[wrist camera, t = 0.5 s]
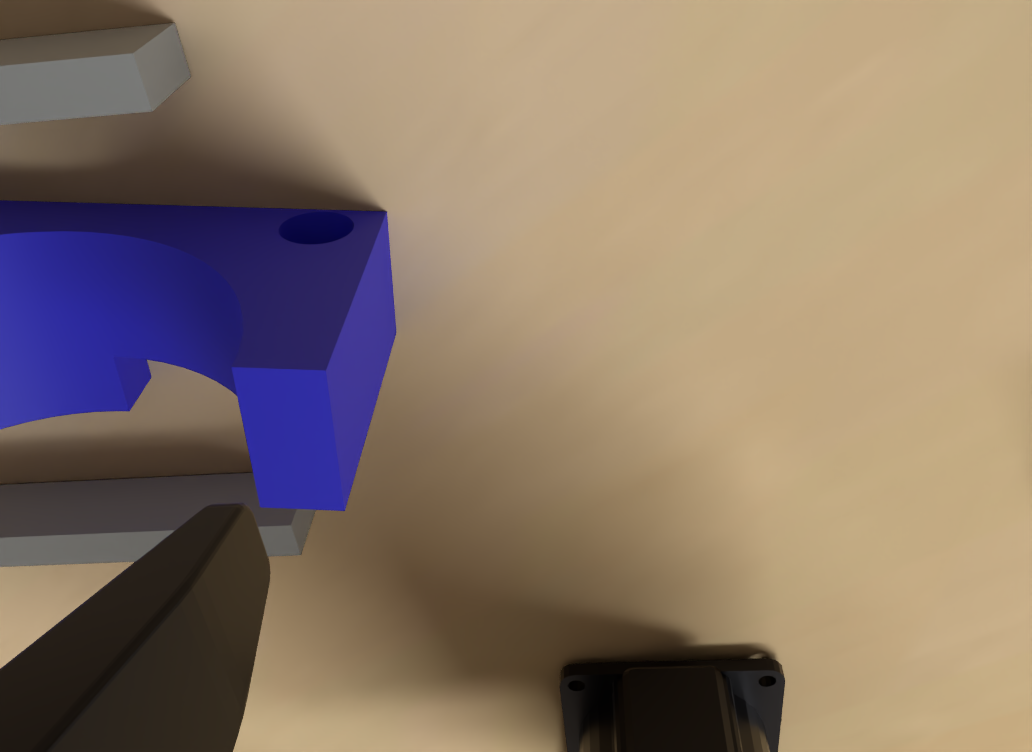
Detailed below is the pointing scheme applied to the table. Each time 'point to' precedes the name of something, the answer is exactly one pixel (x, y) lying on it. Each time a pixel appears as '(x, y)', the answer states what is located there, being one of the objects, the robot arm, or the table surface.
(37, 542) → the guide rails
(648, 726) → the robot arm
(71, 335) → the cable clip
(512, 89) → the table surface
